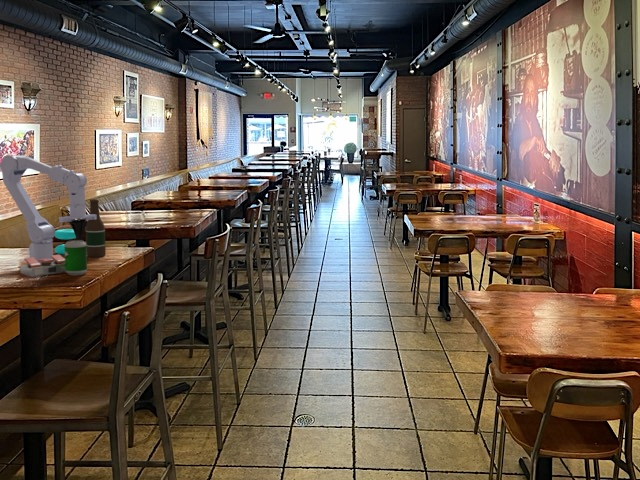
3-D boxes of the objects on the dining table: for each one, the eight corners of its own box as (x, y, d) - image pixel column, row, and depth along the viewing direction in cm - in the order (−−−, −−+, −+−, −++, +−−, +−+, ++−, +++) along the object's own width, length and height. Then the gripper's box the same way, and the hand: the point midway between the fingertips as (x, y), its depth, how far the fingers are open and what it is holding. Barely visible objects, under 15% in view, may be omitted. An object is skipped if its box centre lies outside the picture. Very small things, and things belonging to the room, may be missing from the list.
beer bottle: (109, 255, 280) (107, 199, 277) (94, 258, 274) (92, 200, 270) (97, 253, 284) (95, 198, 281) (82, 256, 278) (80, 199, 274)
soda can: (90, 272, 244) (89, 240, 243) (81, 276, 237) (80, 243, 235) (71, 271, 245) (70, 239, 243) (61, 275, 238) (60, 242, 236)
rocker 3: (50, 257, 247) (50, 255, 246) (58, 256, 249) (59, 254, 249) (58, 263, 243) (58, 261, 243) (66, 262, 245) (66, 260, 245)
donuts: (83, 229, 285) (64, 232, 277) (84, 252, 287) (65, 255, 278) (68, 228, 290) (48, 230, 282) (69, 250, 292) (49, 253, 283)
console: (20, 273, 240) (20, 263, 240) (59, 267, 251) (59, 258, 251) (32, 277, 234) (31, 266, 234) (72, 271, 245) (71, 261, 245)
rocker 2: (37, 261, 243) (37, 259, 243) (46, 260, 245) (46, 258, 245) (45, 262, 239) (45, 260, 239) (54, 261, 241) (53, 259, 241)
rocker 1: (24, 260, 239) (24, 257, 239) (32, 258, 241) (33, 256, 241) (31, 267, 236) (32, 265, 235) (40, 266, 238) (40, 264, 238)
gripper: (64, 206, 245) (66, 242, 247) (100, 203, 255) (101, 238, 257) (55, 205, 249) (57, 240, 251) (90, 202, 260) (92, 236, 262)
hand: (79, 239), depth 255 cm, fingers closed
